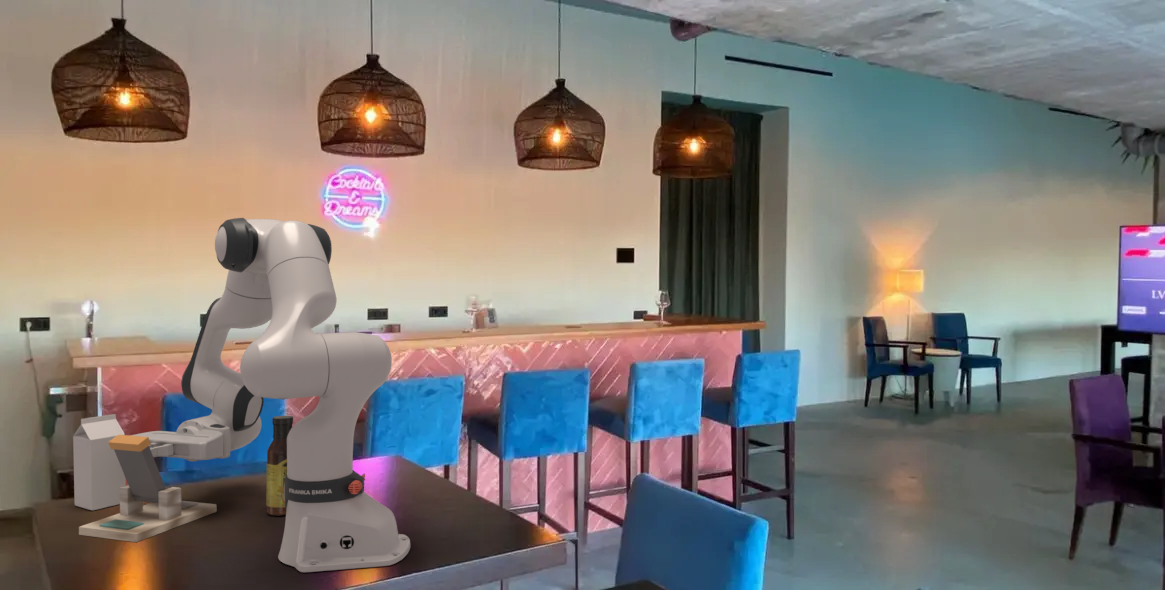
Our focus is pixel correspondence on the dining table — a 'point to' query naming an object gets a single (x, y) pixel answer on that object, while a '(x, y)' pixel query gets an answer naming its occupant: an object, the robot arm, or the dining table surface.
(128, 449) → the rocker lever
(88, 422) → the milk carton
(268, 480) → the sauce bottle
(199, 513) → the switch base
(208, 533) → the dining table surface
